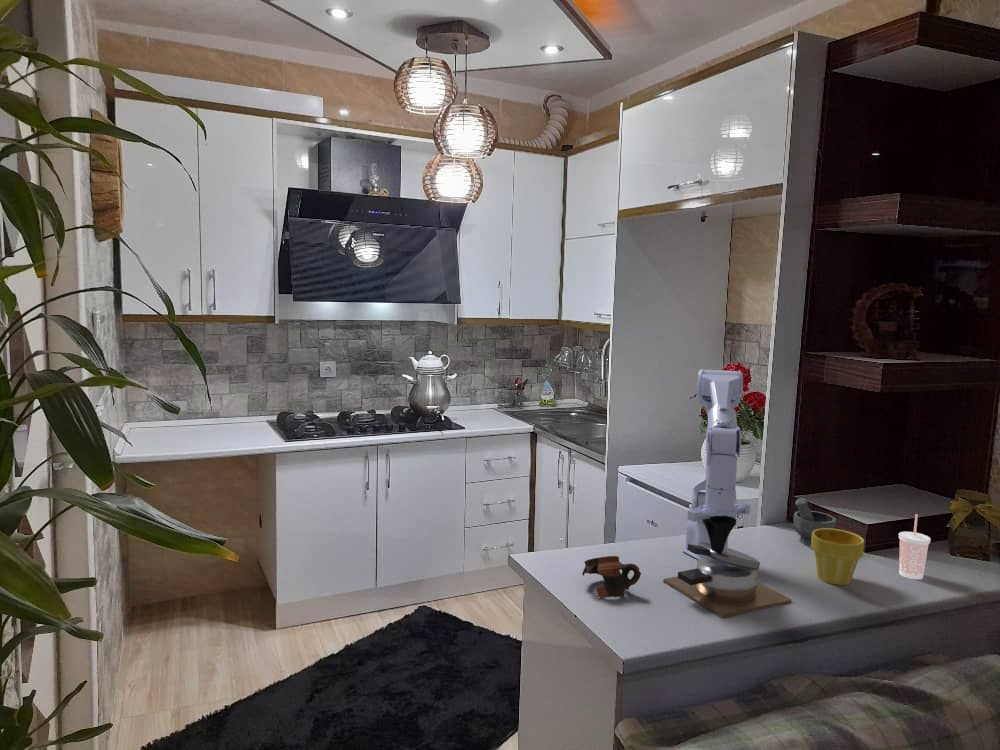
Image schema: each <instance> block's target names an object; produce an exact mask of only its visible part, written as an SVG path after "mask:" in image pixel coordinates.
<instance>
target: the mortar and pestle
mask: <svg viewBox="0 0 1000 750" xmlns="http://www.w3.org/2000/svg"><path fill="white" fill-rule="evenodd" d="M794 504H795V506H796V507H797V509H798V511H795V512H794V514H793V519H792V521H793V528H794V529H795V531H796V533H797V534H798V535H799V537H800V538H799V543H800V542H801V543H802V544H801V543H800V544H801V545H803V544H804V545H803V546H806V545H807V547H809V546H811V537H812V532H813V531H814V530H816V529H821V528H831V529H835V527H836V522H837V521H836V520H837V518H836V517H834V516H832V515H831V514H829V513H825V512H821V511H817V510H811V509H810V507H809V505H808V500H807V499H806V498H804V497H803V498H802V497H800V498H797V499H796V500H795V503H794Z"/></svg>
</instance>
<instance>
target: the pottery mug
mask: <svg viewBox="0 0 1000 750" xmlns="http://www.w3.org/2000/svg"><path fill="white" fill-rule="evenodd" d="M584 565H585V566H584V568H583V571H582V572H581V573H582V576H585V574H589V575H592V574H594V575H595V574H597V575H599V576H601V577H602V579H603V582H604V585H600V586H597V587H596V589H595V590H596V592H597V597H600V598H599V599H604V598H605V599H606V598H612V597H613V598H618V597H620V598H621V597H622V598H623V597H624V596H625V591H626V590H627V591H628V590H629V589H630V587H631V586H634V585H636V584H637V583H638V582H639V580H640V578H641V575H642V573H641V571H640V567H639V566H638V565H637V564H635V563H625V564H623V563H622V562H620V557H619V556H618V555H607V556H599V557H594V558H590V559H586V560H585V561H584ZM631 571H632V572H633V574H632V577H631V578H629V573H630V572H631Z"/></svg>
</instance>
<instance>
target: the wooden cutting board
mask: <svg viewBox="0 0 1000 750" xmlns="http://www.w3.org/2000/svg"><path fill="white" fill-rule="evenodd" d="M758 574H759V569H747V568H742V567H738V566H734V565H731V564H727V563H724V562H722V561H719V560H716V559H714V558H711V557H709V556H707V557H703V558H701V559H699V560H698V559H697V563H696V568H693V569H687V570H681V571H678V572H677V576H672V577H668V578H663V581H662V582H663V583H665V585H668V586H670V587H671V588H673V589H675V590H676V591H678V592H680V593H681V594H682V595H684V596H686V597H687V598H689V599H691V600H693V601H694V602H696V603H697V604H699V606H700V605H701V606H702V607H704V608H705V609H707V610H708V611H711V612H712V613H714V614H715V615H717V616H718V617H720V618H721V619H723V618H727V617H732V616H735V615H740V614H744V613H745V612H746V613H749V611H750V612H753V610H755V611H758V610H757V609H759V610H763V609H768V608H771V607H777V606H781V605H784V604H789V603H792V601H793V599H792V598H790V597H788V596H786V595H785V594H783V593H781V592H778V591H777V590H774V589H773V588H771V587H769V586H768V585H765V584H763V583H761V582H759V581H758V576H759V575H758ZM776 605H777V606H776Z"/></svg>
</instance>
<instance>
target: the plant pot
mask: <svg viewBox="0 0 1000 750" xmlns="http://www.w3.org/2000/svg"><path fill="white" fill-rule="evenodd" d="M810 548H811V549H812V550H813V553H814V559H815V560H814V561H815V567H816V575H817V578H818V579H820V580H821V581H822V582H825V583H828V584H830V585H831V584H832V585H839V586H846V585H849V584H850V583H851V582H852V579H853V576H854V573H855V570H856V568H857V565H858V562H859V559H861V558H862V557H863V556H864V555H863V554H864V549H865V539H864V538H863V537H862V536H861V535H858V534H857V533H854V532H851V531H847V530H844V529H838V528H834V529H831V528H821V529H816V530H814V531H813V532H812V537H811V547H810Z"/></svg>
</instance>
